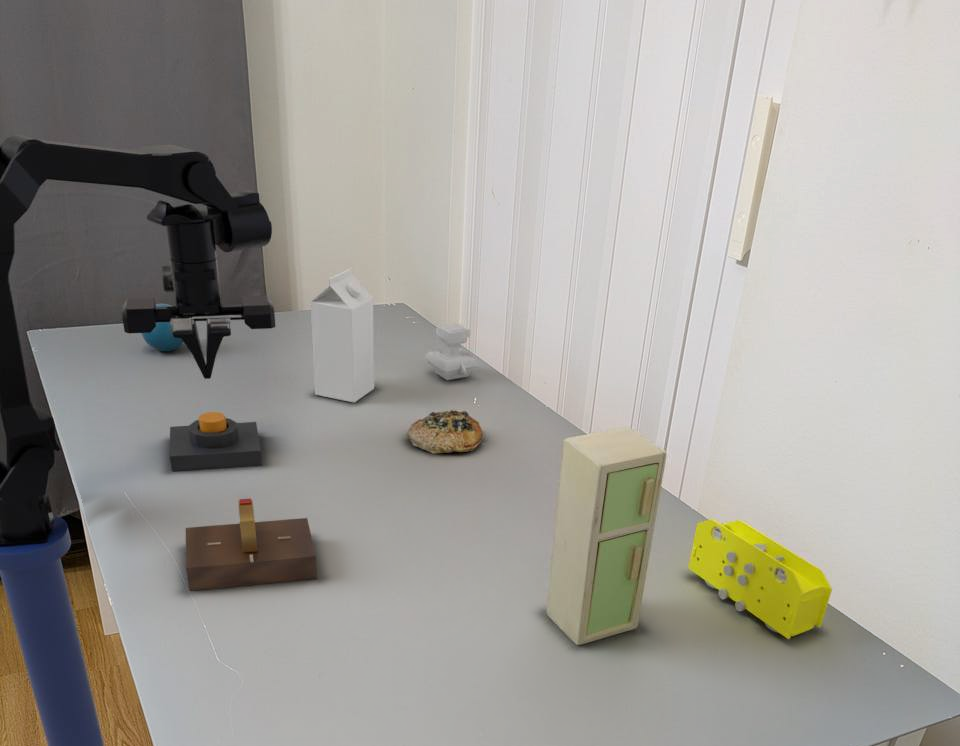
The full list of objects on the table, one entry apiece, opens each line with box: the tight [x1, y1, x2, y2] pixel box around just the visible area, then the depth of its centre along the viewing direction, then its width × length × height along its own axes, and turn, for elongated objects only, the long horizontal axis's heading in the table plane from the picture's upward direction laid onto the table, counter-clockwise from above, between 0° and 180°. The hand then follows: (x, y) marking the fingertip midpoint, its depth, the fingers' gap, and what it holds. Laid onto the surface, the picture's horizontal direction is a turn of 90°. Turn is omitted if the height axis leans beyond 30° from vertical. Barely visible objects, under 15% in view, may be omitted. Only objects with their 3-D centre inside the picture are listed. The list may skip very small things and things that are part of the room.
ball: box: [140, 303, 185, 352], centre depth 164 cm, size 8×8×8 cm
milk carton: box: [310, 267, 375, 403], centre depth 149 cm, size 7×7×19 cm
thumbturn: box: [237, 497, 258, 553], centre depth 107 cm, size 5×2×4 cm, turn 14°
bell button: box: [198, 411, 227, 433], centre depth 131 cm, size 4×4×2 cm
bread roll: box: [407, 409, 484, 454], centre depth 139 cm, size 11×11×5 cm
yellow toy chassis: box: [687, 518, 833, 640], centre depth 105 cm, size 16×6×8 cm, turn 31°
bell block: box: [169, 417, 263, 472], centre depth 132 cm, size 12×10×4 cm
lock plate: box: [184, 517, 318, 592], centre depth 109 cm, size 14×9×3 cm, turn 105°
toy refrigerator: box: [546, 426, 667, 646], centre depth 97 cm, size 8×7×21 cm
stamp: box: [425, 322, 479, 381], centre depth 160 cm, size 9×7×8 cm
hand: (207, 377), depth 127 cm, fingers closed
